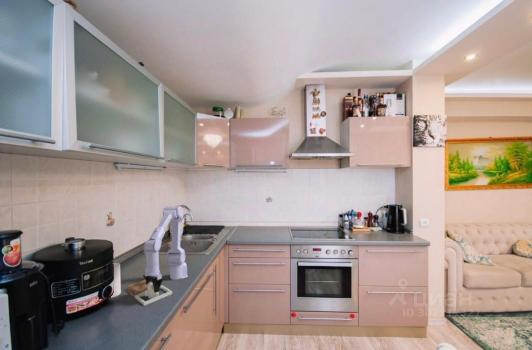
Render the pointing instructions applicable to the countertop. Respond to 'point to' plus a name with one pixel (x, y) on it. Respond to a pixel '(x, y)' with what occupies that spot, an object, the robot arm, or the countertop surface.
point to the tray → (153, 298)
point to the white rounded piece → (151, 291)
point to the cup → (116, 280)
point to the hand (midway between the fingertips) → (153, 289)
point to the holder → (137, 288)
